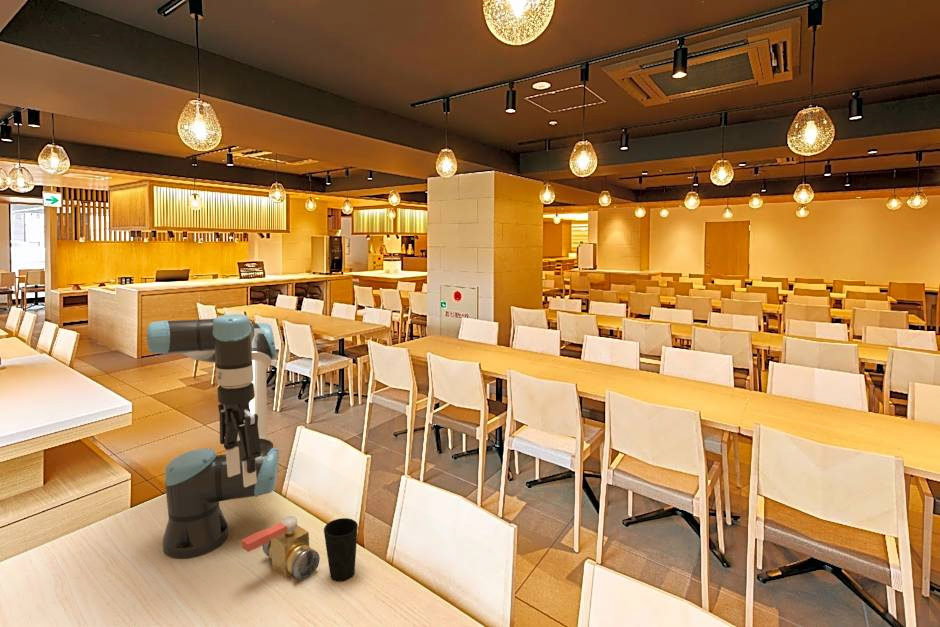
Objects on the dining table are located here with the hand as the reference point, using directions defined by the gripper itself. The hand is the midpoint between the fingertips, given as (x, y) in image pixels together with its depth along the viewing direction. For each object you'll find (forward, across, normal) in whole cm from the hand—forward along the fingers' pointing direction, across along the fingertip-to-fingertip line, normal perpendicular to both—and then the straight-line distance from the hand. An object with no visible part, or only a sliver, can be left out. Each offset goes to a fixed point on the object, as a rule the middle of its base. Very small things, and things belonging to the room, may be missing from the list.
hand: (242, 479), depth 119 cm
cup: (+23, +18, +14) cm, 33 cm away
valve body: (+23, +6, +8) cm, 25 cm away
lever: (+13, +6, +3) cm, 15 cm away
